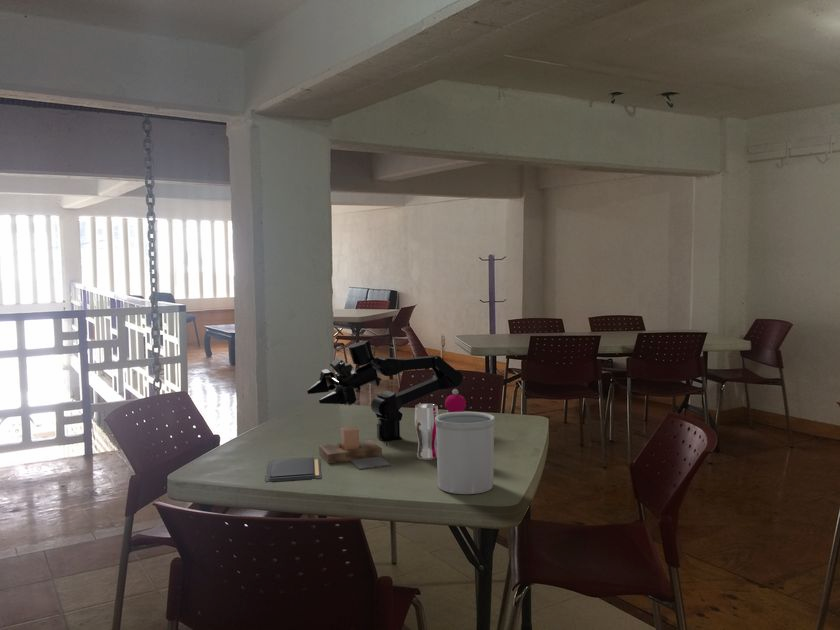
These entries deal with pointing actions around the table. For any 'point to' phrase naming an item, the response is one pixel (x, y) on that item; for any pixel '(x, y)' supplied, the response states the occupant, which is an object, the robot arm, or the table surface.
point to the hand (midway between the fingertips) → (313, 396)
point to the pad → (370, 462)
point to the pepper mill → (455, 402)
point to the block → (349, 438)
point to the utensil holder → (465, 452)
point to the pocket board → (349, 452)
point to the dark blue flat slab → (293, 470)
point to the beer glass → (426, 430)
